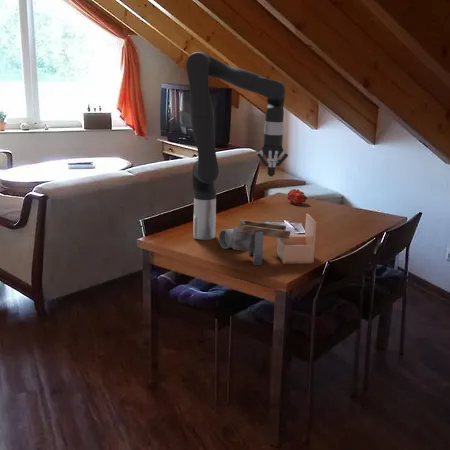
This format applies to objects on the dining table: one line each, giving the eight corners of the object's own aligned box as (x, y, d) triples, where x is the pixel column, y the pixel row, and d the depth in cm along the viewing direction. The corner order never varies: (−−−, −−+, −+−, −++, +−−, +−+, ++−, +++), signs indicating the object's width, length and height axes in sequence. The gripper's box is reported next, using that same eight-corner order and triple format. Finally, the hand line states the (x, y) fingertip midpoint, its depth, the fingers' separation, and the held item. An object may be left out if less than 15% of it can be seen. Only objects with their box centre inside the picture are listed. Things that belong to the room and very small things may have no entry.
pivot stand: (254, 265, 205) (255, 232, 201) (248, 253, 217) (249, 222, 213) (262, 264, 205) (263, 232, 201) (255, 253, 217) (257, 222, 214)
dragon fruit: (286, 203, 299) (305, 211, 293) (280, 197, 292) (299, 204, 286) (293, 190, 301) (312, 197, 294) (288, 183, 294) (307, 190, 287)
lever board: (233, 250, 204) (238, 224, 202) (228, 236, 220) (232, 212, 217) (285, 256, 208) (290, 231, 205) (276, 242, 223) (281, 218, 220)
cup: (283, 263, 207) (285, 222, 202) (276, 253, 218) (278, 214, 213) (313, 263, 208) (316, 222, 203) (305, 252, 219) (308, 213, 214)
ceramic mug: (245, 247, 224) (245, 229, 222) (229, 251, 219) (229, 232, 217) (229, 240, 232) (230, 223, 230) (213, 244, 227) (213, 226, 225)
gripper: (258, 133, 214) (256, 177, 219) (291, 134, 215) (288, 178, 220) (255, 131, 221) (253, 174, 226) (287, 132, 222) (285, 174, 227)
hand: (270, 176), depth 223 cm, fingers closed
